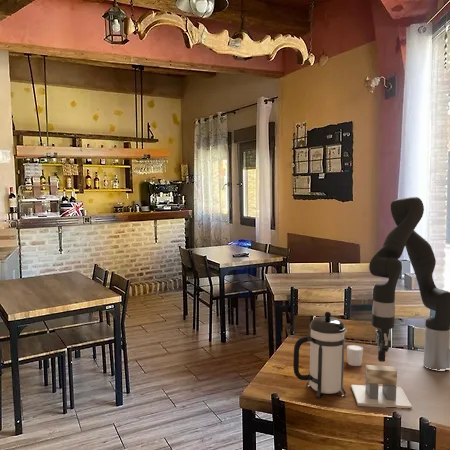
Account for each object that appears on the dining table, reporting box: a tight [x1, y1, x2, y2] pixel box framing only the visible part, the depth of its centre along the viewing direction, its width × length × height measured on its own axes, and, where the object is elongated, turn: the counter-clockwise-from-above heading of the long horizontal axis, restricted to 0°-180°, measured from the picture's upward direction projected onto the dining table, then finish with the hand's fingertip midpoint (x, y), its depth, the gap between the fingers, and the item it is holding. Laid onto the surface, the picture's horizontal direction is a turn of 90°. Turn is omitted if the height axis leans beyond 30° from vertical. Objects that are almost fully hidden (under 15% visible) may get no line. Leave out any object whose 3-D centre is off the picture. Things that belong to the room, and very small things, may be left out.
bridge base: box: [350, 380, 413, 409], centre depth 158 cm, size 18×14×6 cm
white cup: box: [346, 344, 364, 367], centre depth 188 cm, size 7×7×7 cm
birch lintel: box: [364, 364, 398, 386], centre depth 157 cm, size 10×4×5 cm, turn 81°
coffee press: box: [292, 311, 348, 399], centre depth 161 cm, size 17×16×30 cm
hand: (381, 360), depth 157 cm, fingers closed
